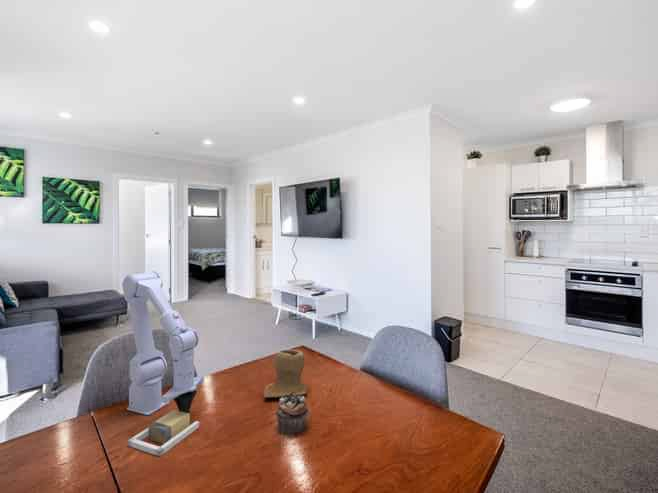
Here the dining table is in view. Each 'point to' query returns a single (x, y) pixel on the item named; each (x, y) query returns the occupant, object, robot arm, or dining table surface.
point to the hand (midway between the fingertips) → (184, 415)
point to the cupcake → (292, 414)
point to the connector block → (168, 426)
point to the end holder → (159, 451)
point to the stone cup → (287, 374)
